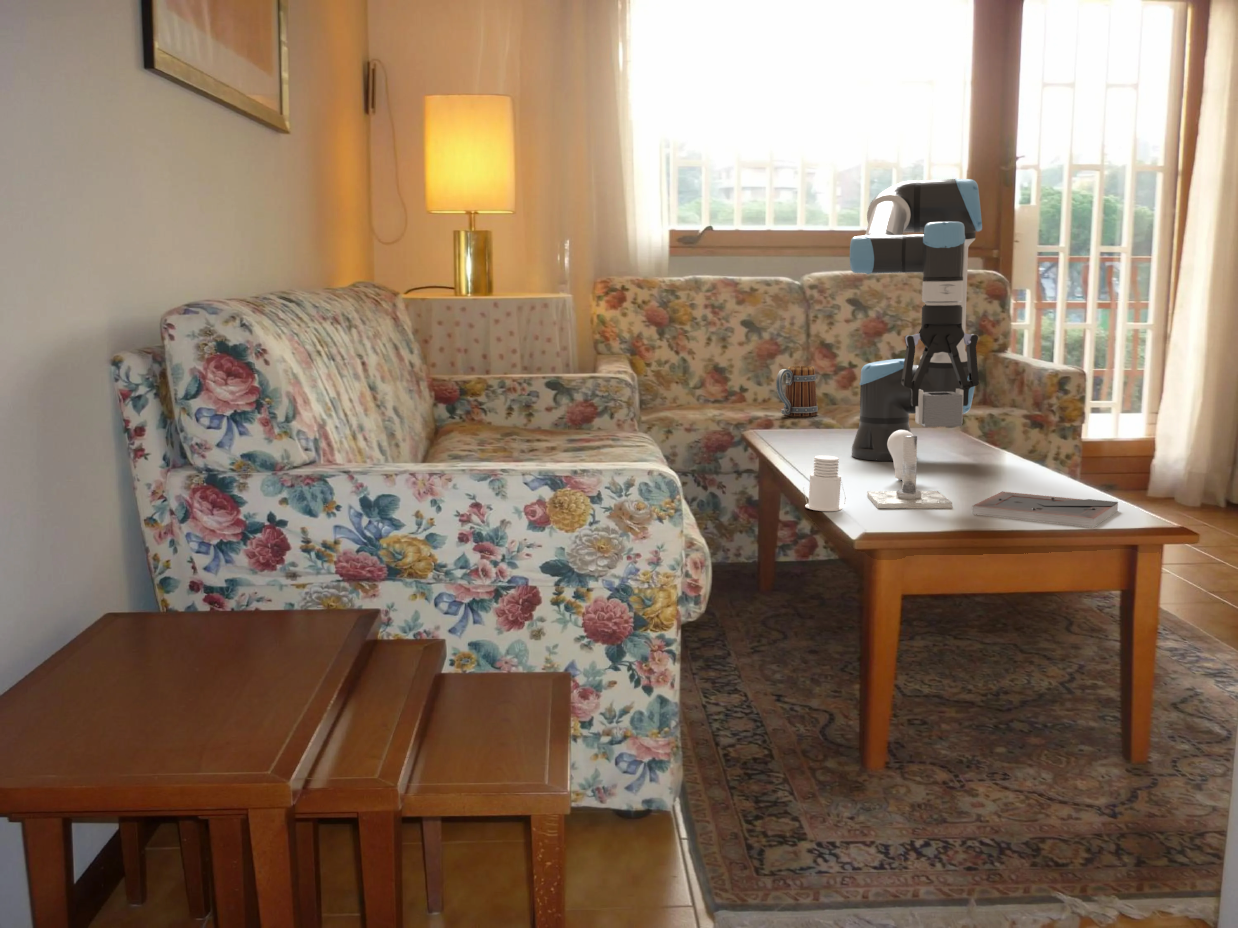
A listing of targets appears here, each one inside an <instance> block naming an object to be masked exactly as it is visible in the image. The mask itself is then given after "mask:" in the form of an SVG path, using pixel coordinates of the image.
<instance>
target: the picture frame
mask: <svg viewBox="0 0 1238 928" xmlns="http://www.w3.org/2000/svg"><path fill="white" fill-rule="evenodd" d="M1118 505H1119V502H1118V501H1112V500H1101V499H1089V498H1088V499H1084V498H1071V497H1062V496H1051V495H1050V496H1049V495H1041V494H1032V493H1022V492H1021V493H1020V492H1011V491H1000V492H998V493H995V494H994V495H992V496H990V497H988V498H985V499H983V500H981V501H980V502H978V503H975V504H974V505H972V506H971V514H972V515H976V514H977V516H985V517H995V518H1002V519H1004V518H1005V519H1012V520H1013V519H1014V520H1022V521H1030V522H1040V523H1048V524H1049V523H1050V524H1057V525H1067V526H1074V527H1075V526H1076V527H1083V528H1093V529H1094V528H1096V527H1097V526H1098V525H1099V524H1101V523H1102V522H1104V521H1105V520H1107V519H1108V518H1110V517H1111V516H1113V515H1114V514H1116V513H1117V512H1118V507H1119V506H1118Z"/></svg>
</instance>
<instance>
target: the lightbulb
mask: <svg viewBox="0 0 1238 928" xmlns="http://www.w3.org/2000/svg"><path fill="white" fill-rule="evenodd" d="M906 435H913V436H915V435H914V434H913V433H912V431H911V432H909V431H906V430H898V431H895V432H894V433H892V434H891V435H890V437H889V439H888V442H887V446H888V450H889V452H890V454H891V456H892V458H893V469H894V476H895V478H896V479H898V481H900V480H902V474H903V436H906Z"/></svg>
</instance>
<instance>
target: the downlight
mask: <svg viewBox="0 0 1238 928" xmlns="http://www.w3.org/2000/svg"><path fill="white" fill-rule="evenodd" d="M839 460H840V458H839V457H837V456H833V455H815V456H814V460H813V472H811V473H810V474H809V487H808V488H809V489H808V491H809V493H808V501H807V497H806V496H807V495H806V493H805V488H802V489H803V494H804V496H805V501H806V504H805V506H804V507H805V508H806V509H809V510H813V511H817V512H818V511H819V512H837V511H841V510H843V506H842V505H840V498H841V487H844V486H843V484H842V483H843V481H842V475H841V474H839V464H840V463H839ZM842 490H843V491H845V490H844V488H842ZM843 494H844V495H846V494H845V492H844V493H843ZM846 499H847V498H846V496H844V500H846ZM845 504H846V502H844V505H845Z"/></svg>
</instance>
